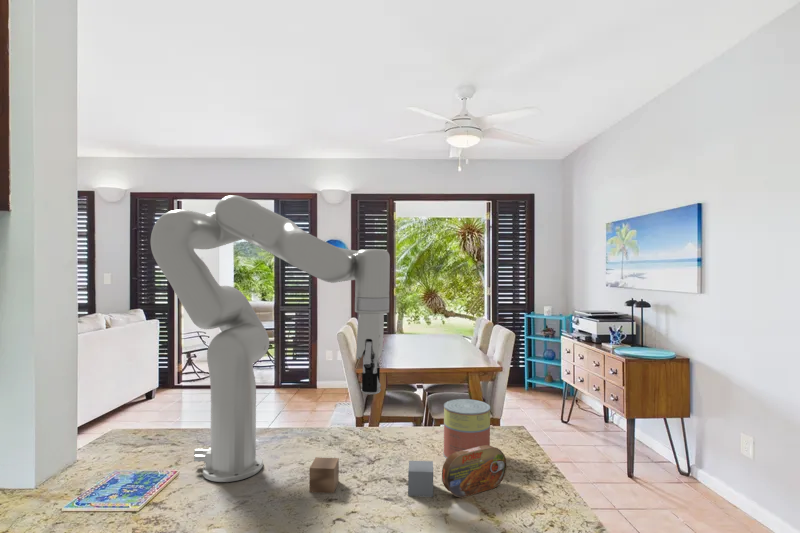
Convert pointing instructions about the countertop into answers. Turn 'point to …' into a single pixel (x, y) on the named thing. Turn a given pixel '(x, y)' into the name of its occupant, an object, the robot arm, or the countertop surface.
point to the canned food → (465, 425)
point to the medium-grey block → (420, 478)
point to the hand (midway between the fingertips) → (370, 387)
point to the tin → (474, 470)
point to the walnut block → (324, 475)
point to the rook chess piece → (377, 381)
